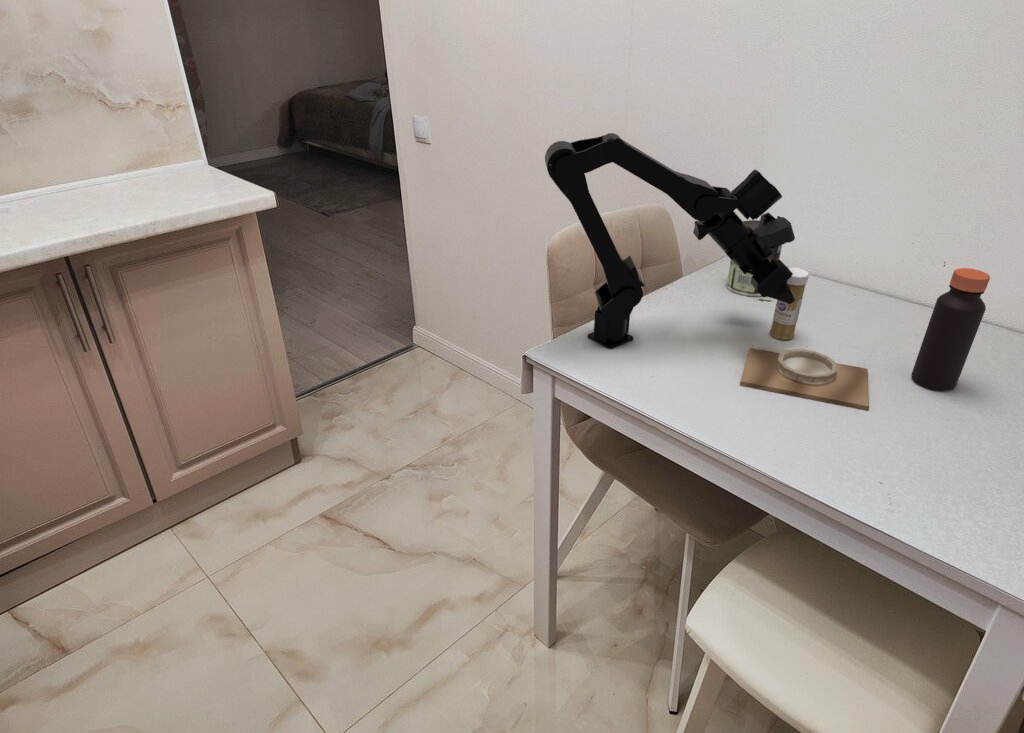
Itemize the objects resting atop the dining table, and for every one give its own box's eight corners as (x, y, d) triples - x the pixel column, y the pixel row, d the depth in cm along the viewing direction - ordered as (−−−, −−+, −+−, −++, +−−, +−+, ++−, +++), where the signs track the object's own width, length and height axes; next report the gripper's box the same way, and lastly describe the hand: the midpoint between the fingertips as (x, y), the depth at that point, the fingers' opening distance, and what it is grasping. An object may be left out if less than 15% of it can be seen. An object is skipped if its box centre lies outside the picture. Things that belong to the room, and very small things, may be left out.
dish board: (739, 385, 114) (742, 372, 113) (748, 351, 124) (751, 339, 123) (868, 410, 107) (872, 397, 106) (866, 372, 117) (870, 360, 116)
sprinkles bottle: (765, 336, 130) (779, 272, 123) (774, 328, 133) (788, 264, 126) (789, 343, 127) (804, 278, 120) (797, 334, 130) (812, 270, 123)
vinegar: (903, 380, 115) (939, 272, 105) (921, 367, 119) (958, 262, 109) (944, 396, 110) (986, 285, 100) (962, 383, 114) (1004, 274, 104)
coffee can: (770, 280, 153) (782, 221, 146) (776, 298, 145) (789, 236, 138) (724, 277, 155) (733, 218, 148) (727, 295, 147) (737, 233, 139)
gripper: (791, 221, 109) (842, 282, 114) (753, 190, 125) (800, 245, 130) (735, 268, 112) (788, 324, 118) (705, 231, 129) (753, 283, 134)
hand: (783, 291), depth 125 cm, fingers open, 9 cm apart
